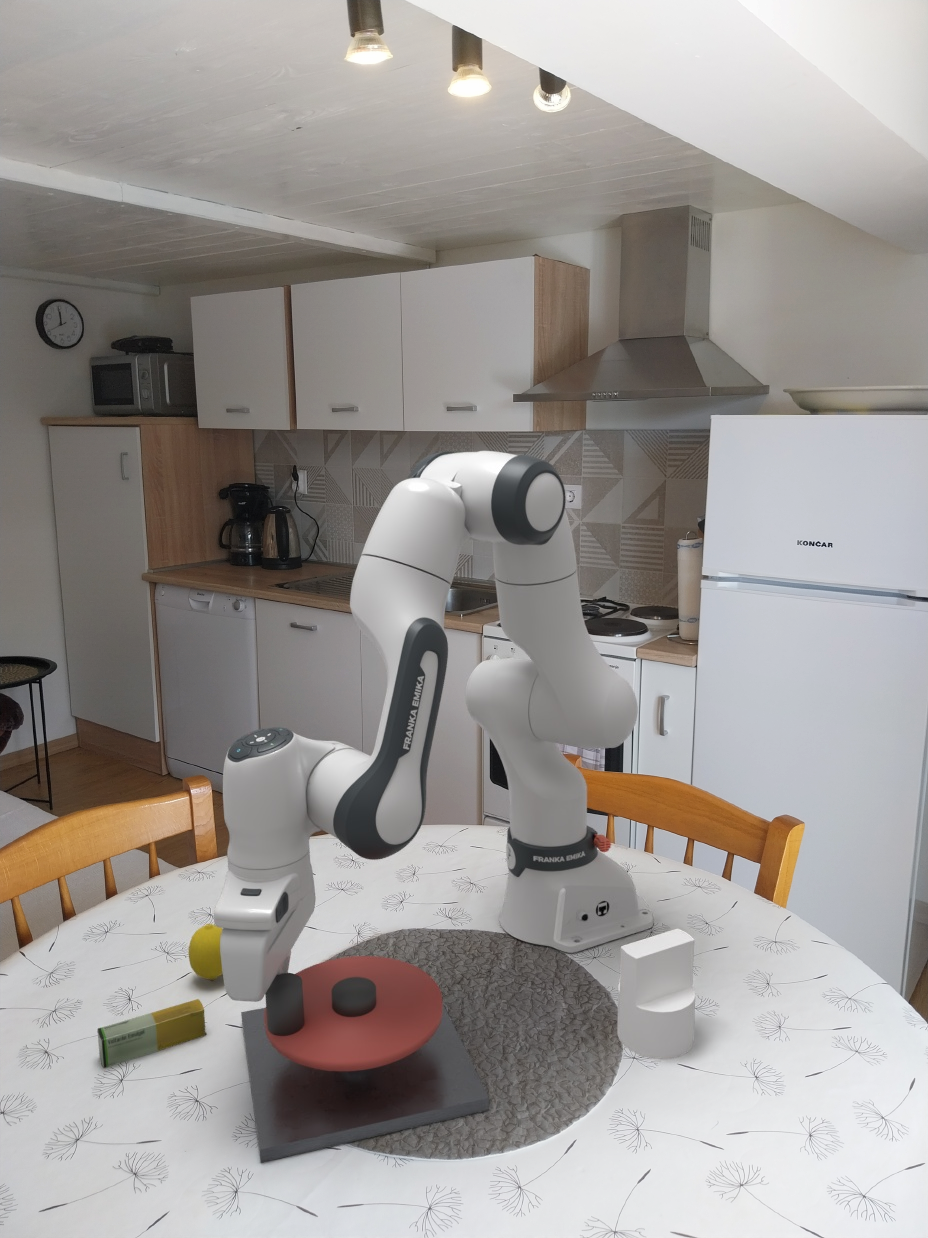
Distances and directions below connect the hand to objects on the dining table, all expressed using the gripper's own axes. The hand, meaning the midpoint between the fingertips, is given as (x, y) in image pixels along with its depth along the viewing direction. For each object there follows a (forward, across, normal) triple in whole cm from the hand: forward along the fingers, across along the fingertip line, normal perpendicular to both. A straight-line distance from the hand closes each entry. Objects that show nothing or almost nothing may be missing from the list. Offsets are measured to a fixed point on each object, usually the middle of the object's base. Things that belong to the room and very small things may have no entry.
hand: (278, 989), depth 108 cm
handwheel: (+3, -1, +8) cm, 9 cm away
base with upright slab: (+10, -11, +42) cm, 45 cm away
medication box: (+10, -2, -16) cm, 19 cm away
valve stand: (+10, -1, +8) cm, 13 cm away
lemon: (+10, -16, -15) cm, 24 cm away
